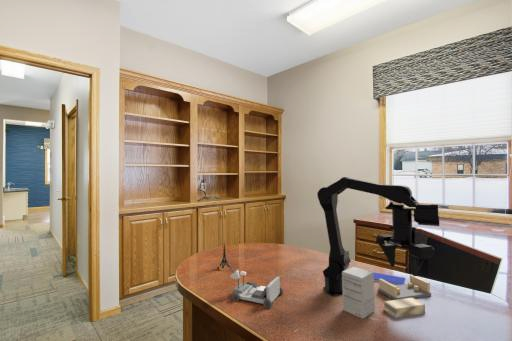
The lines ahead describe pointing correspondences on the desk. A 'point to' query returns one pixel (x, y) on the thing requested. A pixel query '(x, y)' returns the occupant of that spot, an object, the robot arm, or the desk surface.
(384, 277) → the hard drive
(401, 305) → the board
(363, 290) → the supplement box
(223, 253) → the eiffel tower figurine
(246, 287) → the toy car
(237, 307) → the desk surface
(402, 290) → the peg base
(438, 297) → the desk surface
